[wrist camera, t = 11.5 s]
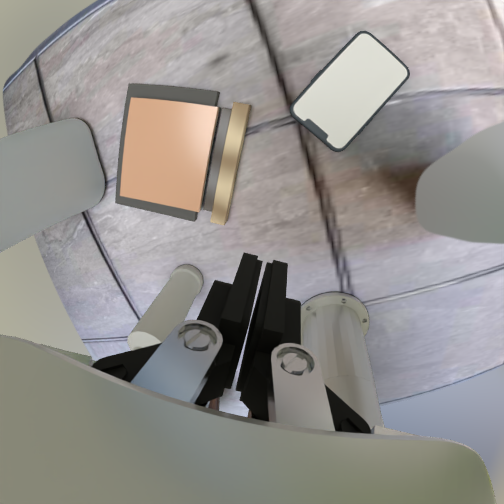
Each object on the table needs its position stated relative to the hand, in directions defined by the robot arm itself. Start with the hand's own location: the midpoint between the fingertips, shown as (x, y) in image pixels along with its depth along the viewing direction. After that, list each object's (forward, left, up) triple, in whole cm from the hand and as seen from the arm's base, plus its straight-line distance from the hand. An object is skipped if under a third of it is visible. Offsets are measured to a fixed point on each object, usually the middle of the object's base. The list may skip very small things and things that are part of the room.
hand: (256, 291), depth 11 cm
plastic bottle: (-6, +34, -29) cm, 45 cm away
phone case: (+12, -6, -30) cm, 33 cm away
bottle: (-20, +10, -29) cm, 37 cm away
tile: (-1, +9, -28) cm, 30 cm away
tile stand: (-1, +7, -29) cm, 30 cm away
